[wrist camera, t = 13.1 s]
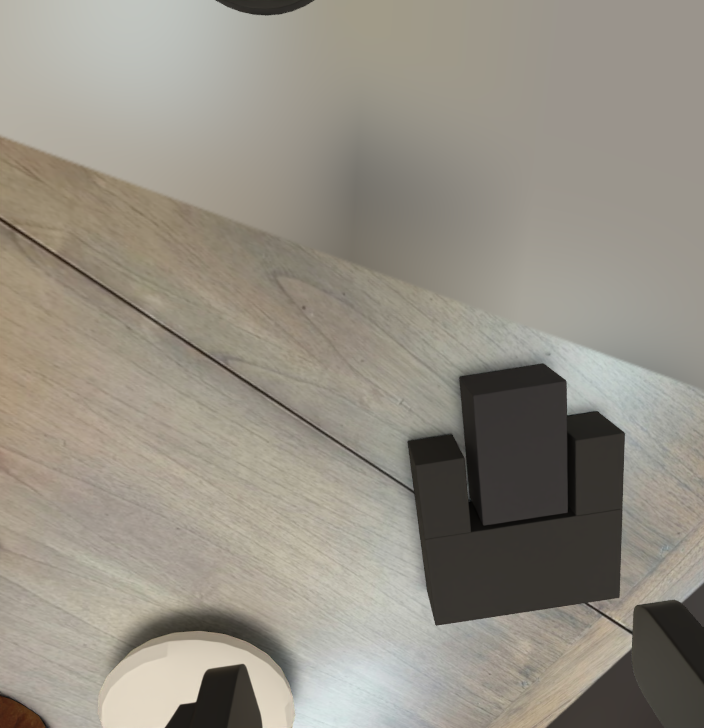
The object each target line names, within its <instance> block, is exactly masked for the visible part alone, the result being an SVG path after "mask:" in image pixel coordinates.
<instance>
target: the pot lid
mask: <svg viewBox="0 0 704 728" xmlns="http://www.w3.org/2000/svg"><path fill="white" fill-rule="evenodd" d="M238 664H245V666H246V668H247V670H248V674H249V677H250V680H251V683H252V687H253V690H254V693H255V697H256V700H257V703H258V706H259V710H260V713H261V718H262V727H263V728H292V726H293V722H294V718H295V710H294V702H293V696H292V692H291V688H290V685H289V683H288V681H287V679H286V677H285V675H284V673H283V671H282V669H281V668H280V667H279V666H278V665H277V664H276V663H275V662H274V660H273V659H272V658H271V657H270V656H269V655H268V654H267V653H265V652H263V651H262V650H260V649H258V648H257V647H255V646H253V645H252V644H250V643H249V642H246V641H244V640H241V639H238V638H235V637H232V636H229V635H226V634H220V633H212V632H205V631H190V632H177V633H171V634H168V635H164V636H161V637H157V638H154V639H151V640H149V641H147V642H145V643H144V644H142V645H140V646H138V647H137V648H135V649H133V650H132V651H131V652H130V653H129V654H128V655H127V656H126V657H125V658H124V659H123V660H122V661H121V662H120V663H119V664H118V665H117V666H116V667H115V668H114V669H113V670H112V671H111V673H110V674H109V675H108V676H107V678H106V680H105V682H104V684H103V686H102V688H101V690H100V693H99V700H98V715H99V718H100V721H101V724H102V728H165V727H166V725H167V724H168V722H169V721H170V719H171V717H172V716H173V714H174V713H175V711H176V710H177V708H178V707H179V705H180V704H187V703H194V702H196V700H197V697H198V693H199V689H200V686H201V682H202V679H203V676H204V673H205V672H206V670H207V669H211V668H218V667H224V666H231V665H238Z"/></svg>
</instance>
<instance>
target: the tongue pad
mask: <svg viewBox="0 0 704 728" xmlns="http://www.w3.org/2000/svg"><path fill="white" fill-rule="evenodd" d="M459 379H460V390H461V401H462V413H463V424H464V436H465V447H466V459H467V470H468V482H469V493H470V498H471V500H472V503H473V505H474V507H475V509H476V511H477V513H478V515H479V518H480V520H481V522H482V524H483V525H484V526H485V525H491V524H497V523H504V522H510V521H517V520H523V519H530V518H536V517H543V516H549V515H556V514H562V513H567V512H568V481H567V383H566V380H564V379H563V378H562V377H561V376H559V375H558V374H557V373H555V372H554V371H553V370H551V369H550V368H549V367H547V366H546V365H545V364H538V365H532V366H526V367H519V368H513V369H507V370H500V371H494V372H488V373H481V374H475V375H469V376H462V377H460V378H459Z"/></svg>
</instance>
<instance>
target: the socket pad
mask: <svg viewBox="0 0 704 728" xmlns="http://www.w3.org/2000/svg"><path fill="white" fill-rule="evenodd" d="M624 442H625V433H624V432H623V431H622V430H620V429H619V428H618V427H617V426H615V425H614V424H613V423H612V422H610V421H609V420H608V419H606V418H605V417H604V416H603V415H601V414H600V413H599V412H591V413H584V414H578V415H572V416H567V481H568V512H567V513H562V514H556V515H549V516H543V517H536V518H530V519H523V520H517V521H510V522H504V523H497V524H491V525H485V526H484V525H483V524H482V522H481V520H480V518H479V515H478V513H477V511H476V509H475V507H474V505H473V503H472V501H470V502H468V492H467V481H466V470H465V458H464V456H463V454H462V452H461V451H460V449H459V447H458V445H457V443H456V441H455V439H454V437H453V435H452V434H450V435H444V436H437V437H431V438H424V439H418V440H412V441H408V448H409V455H410V463H411V471H412V478H413V486H414V494H415V501H416V509H417V517H418V524H419V532H420V540H421V547H422V555H423V563H424V570H425V578H426V586H427V592H428V596H429V600H430V604H431V608H432V612H433V617H434V621H435V625H436V626H437V625H443V624H450V623H456V622H463V621H469V620H476V619H483V618H489V617H496V616H502V615H509V614H515V613H522V612H529V611H535V610H542V609H548V608H555V607H561V606H568V605H575V604H581V603H588V602H594V601H601V600H607V599H614V598H619V595H620V565H621V535H622V501H623V472H624Z"/></svg>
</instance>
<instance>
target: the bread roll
mask: <svg viewBox="0 0 704 728" xmlns="http://www.w3.org/2000/svg"><path fill="white" fill-rule="evenodd" d="M0 728H46V727H45V725H44V723H43V722H42V720H41V719H40V717H39V716H38V715H37V714H35V713H34V712H32V711H31V710H29V709H28V708H26V707H25V706H23V705H21V704H19V703H18V702H16V701H14V700H12V699H9V698H5V697H2V696H0Z"/></svg>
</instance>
